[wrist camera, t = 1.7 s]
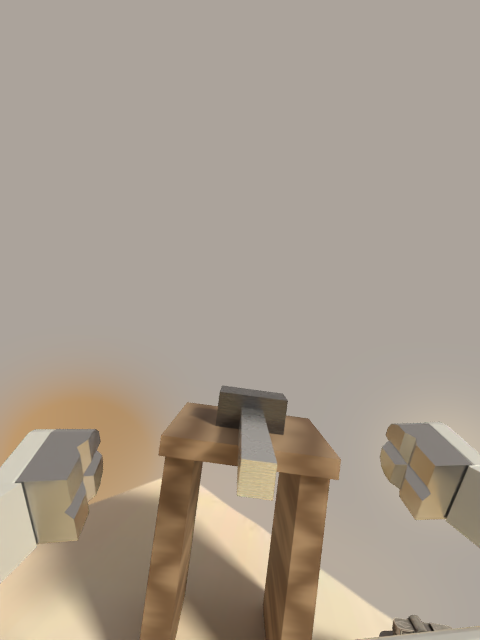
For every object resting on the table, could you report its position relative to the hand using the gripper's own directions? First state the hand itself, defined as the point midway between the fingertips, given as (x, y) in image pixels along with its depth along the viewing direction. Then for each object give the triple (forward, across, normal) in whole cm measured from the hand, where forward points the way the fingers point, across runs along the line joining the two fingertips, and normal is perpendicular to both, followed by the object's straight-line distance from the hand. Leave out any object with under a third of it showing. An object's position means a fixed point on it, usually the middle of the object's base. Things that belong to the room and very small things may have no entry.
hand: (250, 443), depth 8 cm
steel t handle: (+16, -3, +16) cm, 23 cm away
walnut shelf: (+13, -1, +42) cm, 44 cm away
